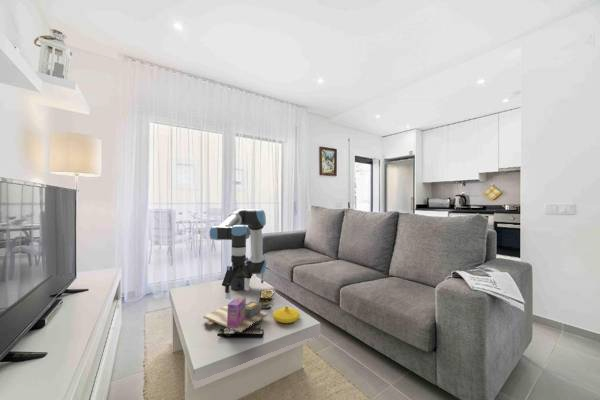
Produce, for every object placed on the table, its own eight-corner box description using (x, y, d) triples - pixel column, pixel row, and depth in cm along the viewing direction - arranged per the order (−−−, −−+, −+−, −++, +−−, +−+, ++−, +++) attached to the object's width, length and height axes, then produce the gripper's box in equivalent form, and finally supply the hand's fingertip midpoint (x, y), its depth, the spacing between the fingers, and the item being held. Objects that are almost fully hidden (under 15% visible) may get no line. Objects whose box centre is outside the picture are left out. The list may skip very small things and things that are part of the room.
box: (237, 328, 124) (237, 305, 124) (226, 327, 125) (227, 304, 125) (245, 318, 135) (246, 297, 135) (235, 317, 136) (236, 296, 136)
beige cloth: (232, 307, 156) (232, 302, 156) (267, 319, 142) (267, 313, 142) (198, 324, 134) (198, 318, 134) (236, 340, 120) (236, 333, 120)
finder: (251, 309, 146) (251, 300, 146) (260, 312, 143) (260, 303, 143) (240, 315, 138) (240, 306, 138) (250, 318, 135) (250, 308, 135)
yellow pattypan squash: (297, 312, 151) (297, 301, 151) (302, 325, 136) (302, 312, 136) (271, 314, 149) (272, 302, 149) (273, 327, 133) (273, 314, 133)
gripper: (249, 249, 143) (248, 285, 143) (214, 258, 121) (214, 300, 122) (259, 251, 139) (258, 288, 139) (225, 260, 117) (224, 304, 118)
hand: (237, 294), depth 130 cm, fingers open, 13 cm apart
